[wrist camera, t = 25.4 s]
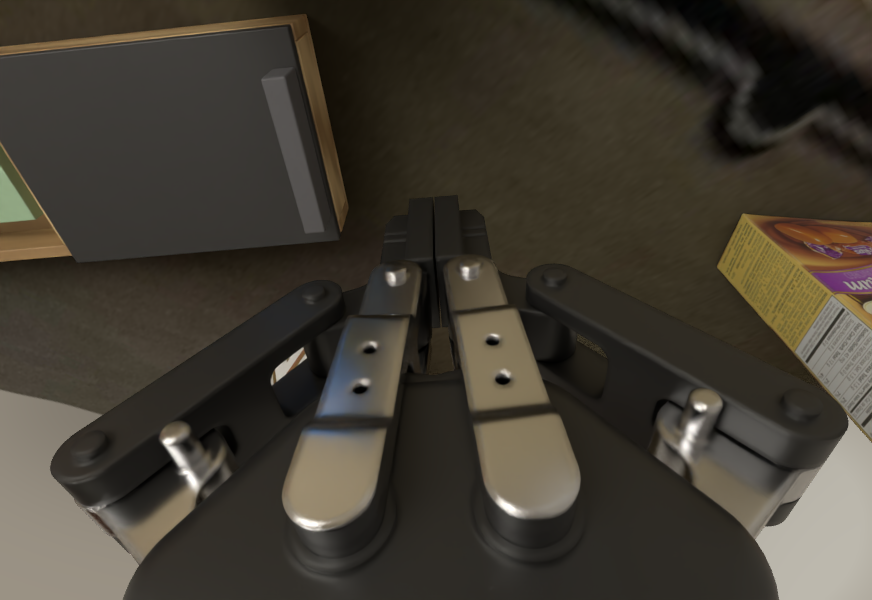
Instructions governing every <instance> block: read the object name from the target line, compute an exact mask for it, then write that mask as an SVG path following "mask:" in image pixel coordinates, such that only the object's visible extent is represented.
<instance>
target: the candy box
mask: <svg viewBox="0 0 872 600" xmlns="http://www.w3.org/2000/svg"><path fill="white" fill-rule="evenodd" d="M717 268H718V269H719V270H720V271H721V272H722V274H723V275H724V276H725V277H726V278H727V279H728V280H729V282H730V283H731V284H732V285H733V286H734V287H735V288H736V290H737V291H738V292H739V293H740V294H741V295H742V296H743V297H744V299H745V300H746V301H747V302H748V303H749V304H750V305H751V306H752V308H753V309H754V310H755V311H756V312H757V313H758V314H759V316H760V317H761V318H762V319H763V320H764V321H765V322H766V324H767V325H768V326H769V327H770V328H771V329H772V330H773V331H774V332H775V334H776V335H777V336H778V337H779V338H780V339H781V340H782V342H783V343H784V344H785V345H786V346H787V347H788V348H789V349H790V351H791V352H792V353H793V354H794V355H795V356H796V357H797V358H798V360H799V361H800V362H801V363H802V364H803V365H804V367H805V368H806V369H807V370H808V371H809V372H810V373H811V375H812V376H813V377H814V378H815V379H816V380H817V381H818V382H819V384H820V385H821V386H822V387H823V388H824V389H825V390H826V391H827V392H828V393H829V395H830V396H831V397H833V398H834V399H835V400H836V401H837V402H838V403H839V404H840V405H841V406H842V408H843V409H844V411H845V413H846V414H847V415H848V416H849V417H850V419H851V420H852V421H853V422H854V423H855V424H856V425H857V427H858V428H859V429H860V430H861V431H862V432H863V433H864V434H865V435H866V437H867V438H868V439H869V440H870V441H871V442H872V222H849V221H832V220H817V219H805V218H790V217H775V216H762V215H751V214H742V216H741V218H740V220H739V222H738V224H737V226H736V228H735V230H734V232H733V234H732V236H731V238H730V240H729V242H728V244H727V246H726V248H725V250H724V252H723V254H722V256H721V258H720V260H719V263H718V265H717Z"/></svg>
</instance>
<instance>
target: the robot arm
mask: <svg viewBox="0 0 872 600" xmlns="http://www.w3.org/2000/svg"><path fill="white" fill-rule="evenodd" d="M439 298H440V306H439ZM440 308H441V318H442V327H448V329H449V340H450V350H451V356H452V363H453V369H454V371H450V372H446V373H442V374H438V375H429V368H430V359H431V338H432V328H439V327H440ZM577 333H578V334H580V335H581V336H583V337H585V338H586V339H588V340H590V341H592V342H593V343H595V344H597V345H598V346H599V347H600V348H601V349H602V350H603V351H604V352H605V354H606V356H607V358H608V359H606V358H605V357H603V356H601V355H600V354H598V353H596V352H595V351H593V350H592V349H590V348H588V347H587V346H585V345H583V344H582V343H580V342H578V341H577ZM302 347H303V348H304V351H305V354H306V357H307V358H306V359H305V360H304V361H303V362H301V363H300V364H299V365H297V366H296V367H295V368H294V369H292V370H291V371H290V372H288V373H287V374H286V375H285V376H283V377H282V378H281V379H279V380H278V381H277V382H276V383H274V384H273V385H271V377H272V374H273V372H274V370H275V369H276V368H277V367H278V366H279V365H280V364H281V363H283V362H284V361H285V360H287V359H288V358H289V357H291V356H292V355H293V354H295V353H296V352H297V351H298V350H300V349H301V348H302ZM847 428H848V418H847V415H846V413H845V411H844V409H843V408H842V406H841V405H840V404H839V403H838V402H837V401H836V400H835V399H834V398H833V397H831V396H830V395H829V394H827V393H826V392H824V391H823V390H821V389H819V388H817V387H815V386H813V385H811V384H809V383H807V382H805V381H803V380H801V379H799V378H797V377H795V376H793V375H791V374H788V373H786V372H784V371H782V370H780V369H778V368H776V367H774V366H772V365H770V364H768V363H766V362H764V361H762V360H760V359H758V358H756V357H754V356H752V355H750V354H748V353H746V352H744V351H742V350H739V349H737V348H735V347H733V346H731V345H729V344H727V343H725V342H723V341H721V340H719V339H717V338H715V337H713V336H711V335H709V334H707V333H705V332H703V331H701V330H699V329H697V328H695V327H692V326H690V325H688V324H686V323H684V322H682V321H680V320H678V319H676V318H674V317H672V316H670V315H668V314H666V313H664V312H662V311H660V310H658V309H656V308H654V307H652V306H650V305H648V304H646V303H643V302H641V301H639V300H637V299H635V298H633V297H631V296H629V295H627V294H625V293H623V292H621V291H619V290H617V289H615V288H613V287H611V286H609V285H607V284H605V283H603V282H601V281H599V280H596V279H594V278H592V277H590V276H588V275H586V274H584V273H582V272H580V271H578V270H576V269H574V268H572V267H569V266H566V265H562V264H545V265H540V266H537V267H535V268H533V269H532V270H531V271H530V272H529V273H528V275H527V278H521V277H514V276H510V275H507V274H504V273H502V272H500V271H499V270H498V269H497V268H496V265H495V263H494V262H493V261H492V258H491V253H490V247H489V242H488V237H487V231H486V226H485V220H484V217H483V216H482V215H481V214H480V213H479V212H478V211H477V210H476V209H475V210H462V211H459V204H458V195H454V196H441V197H435V214H434V204H433V197H430V198H418V199H409V211H408V215H400V216H394V217H393V218H392V219H391V220H390V221H389V222H388V223H387V224H386V229H385V236H384V243H383V249H382V256H381V263H380V265H379V266H377V267H376V268H375V269H374V270H373V271H372V272H371V274H370V277H369V281H368V284H366V285H365V286H362V287H360V288H357V289H354V290H350V291H347V292H343V293H342V290H341V287H340V286H339V285H338V284H337V283H335V282H332V281H327V280H318V281H312V282H308V283H305V284H303V285H301V286H299V287H297V288H296V289H294V290H293V291H291V292H290V293H288V294H287V295H285V296H284V297H282V298H281V299H279V300H278V301H276V302H275V303H273V304H271V305H270V306H268V307H267V308H265V309H264V310H262V311H261V312H259V313H258V314H256V315H255V316H253V317H252V318H250V319H249V320H247V321H246V322H244V323H242V324H241V325H239V326H238V327H236V328H235V329H233V330H232V331H230V332H229V333H227V334H226V335H224V336H223V337H221V338H220V339H218V340H217V341H215V342H214V343H212V344H210V345H209V346H207V347H206V348H204V349H203V350H201V351H200V352H198V353H197V354H195V355H194V356H192V357H191V358H189V359H188V360H186V361H185V362H183V363H182V364H180V365H178V366H177V367H175V368H174V369H172V370H171V371H169V372H168V373H166V374H165V375H163V376H162V377H160V378H159V379H157V380H156V381H154V382H153V383H151V384H150V385H148V386H146V387H145V388H143V389H142V390H140V391H139V392H137V393H136V394H134V395H133V396H131V397H130V398H128V399H127V400H125V401H124V402H122V403H121V404H119V405H118V406H116V407H114V408H113V409H111V410H110V411H108V412H107V413H105V414H104V415H102V416H101V417H99V418H98V419H96V420H95V421H93V422H92V423H90V424H89V425H87V426H86V427H84V428H82V429H81V430H79V431H78V432H76V433H75V434H74V435H72V436H71V437H70V438H69V439H67V440H66V441H65V442H64V443H63V444H62V445H61V447H60V448H59V449H58V450H57V452H56V453H55V455H54V457H53V459H52V461H51V466H50V470H51V474H52V475H53V477H54V478H55V479H56V480H57V481H58V482H59V483H60V484H61V485H62V486H63V487H64V488H65V489H66V490H67V491H68V492H69V493H70V494H71V495H72V496H73V497H74V500H75V502H76V504H77V505H78V506H79V507H80V508H81V509H82V510H83V511H84V512H85V513H86V514H87V515H88V516H89V517H90V518H91V519H92V520H93V521H94V522H95V523H96V524H97V525H98V526H99V527H100V528H101V529H102V530H103V531H104V532H105V533H106V534H107V535H109V536H112V537H113V538H114V539H115V540H116V541H117V542H118V543H119V544H120V545H121V546H122V547H123V548H124V549H125V550H126V551H127V552H128V553H130V554H131V555H132V556H133V558H134V559H135V560H136V561H137V563H138V564H139V567H138V568H137V570H136V572H135V574H134V576H133V577H132V579H131V581H130V583H129V585H128V587H127V590H126V592H125V595H124V597H123V600H779V597H778V591H777V586H776V582H775V579H774V576H773V573H772V570H771V568H770V566H769V564H768V562H767V560H766V557H765V555H764V553H763V552H762V550H761V549H760V547H759V546H758V544H757V542H756V541H755V539H756V537H757V536H758V535H759V533H760V532H761V531H762V529H763V528H764V526H774V525H778V524H780V523H782V522H783V521H784V520H785V519H786V518H787V516H788V515H789V514H790V512H791V511H792V509H793V508H794V506H795V505H796V503H797V502H798V500H799V499H800V497H801V496H802V495H803V493H804V492H805V490H806V488H807V487H808V486H809V484H810V483H811V481H812V480H813V479H814V477H815V476H816V474H817V473H818V471H819V469H820V468H821V467H822V465H823V464H824V463H825V461H826V460H827V458H828V457H829V455H830V454H831V452H832V451H833V449H834V448H835V446H836V445H837V444H838V442H839V441H840V439H841V438H842V436H843V435H844V433H845V431H846V430H847Z"/></svg>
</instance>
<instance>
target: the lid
mask: <svg viewBox="0 0 872 600" xmlns="http://www.w3.org/2000/svg"><path fill="white" fill-rule="evenodd" d="M0 142H1V144H2V146H3V147H4V149H5V150H6V152H7V154H8V155H9V157H10V158H11V160H12V161H13V163H14V165H15V166H16V168H17V169H18V171H19V172H20V174H21V176H22V177H23V179H24V180H25V182H26V183H27V185H28V187H29V188H30V190H31V191H32V193H33V195H34V196H35V198H36V199H37V201H38V202H39V204H40V206H41V207H42V209H43V210H44V212H45V213H46V215H47V217H48V218H49V220H50V221H51V223H52V224H53V226H54V228H55V229H56V231H57V232H58V234H59V236H60V237H61V239H62V240H63V242H64V243H65V245H66V247H67V248H68V250H69V251H70V253H71V254H72V256H73V258H74V259H75V261H76V262H77V263H84V262H95V261H107V260H118V259H130V258H141V257H153V256H164V255H176V254H188V253H199V252H211V251H222V250H234V249H245V248H257V247H268V246H280V245H291V244H303V243H314V242H326V241H337V240H339V239H340V236H341V233H340V229H339V225H338V221H337V217H336V212H335V208H334V204H333V200H332V196H331V191H330V187H329V183H328V179H327V175H326V171H325V166H324V162H323V158H322V154H321V150H320V145H319V141H318V137H317V133H316V129H315V124H314V120H313V116H312V112H311V108H310V103H309V99H308V95H307V91H306V87H305V82H304V78H303V74H302V70H301V66H300V61H299V57H298V53H297V49H296V45H295V40H294V36H293V32H292V28H291V25H290V24H285V25H276V26H267V27H258V28H248V29H239V30H230V31H221V32H211V33H202V34H193V35H183V36H174V37H165V38H156V39H146V40H137V41H128V42H119V43H109V44H100V45H91V46H81V47H72V48H63V49H54V50H44V51H35V52H26V53H17V54H7V55H0Z"/></svg>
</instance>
